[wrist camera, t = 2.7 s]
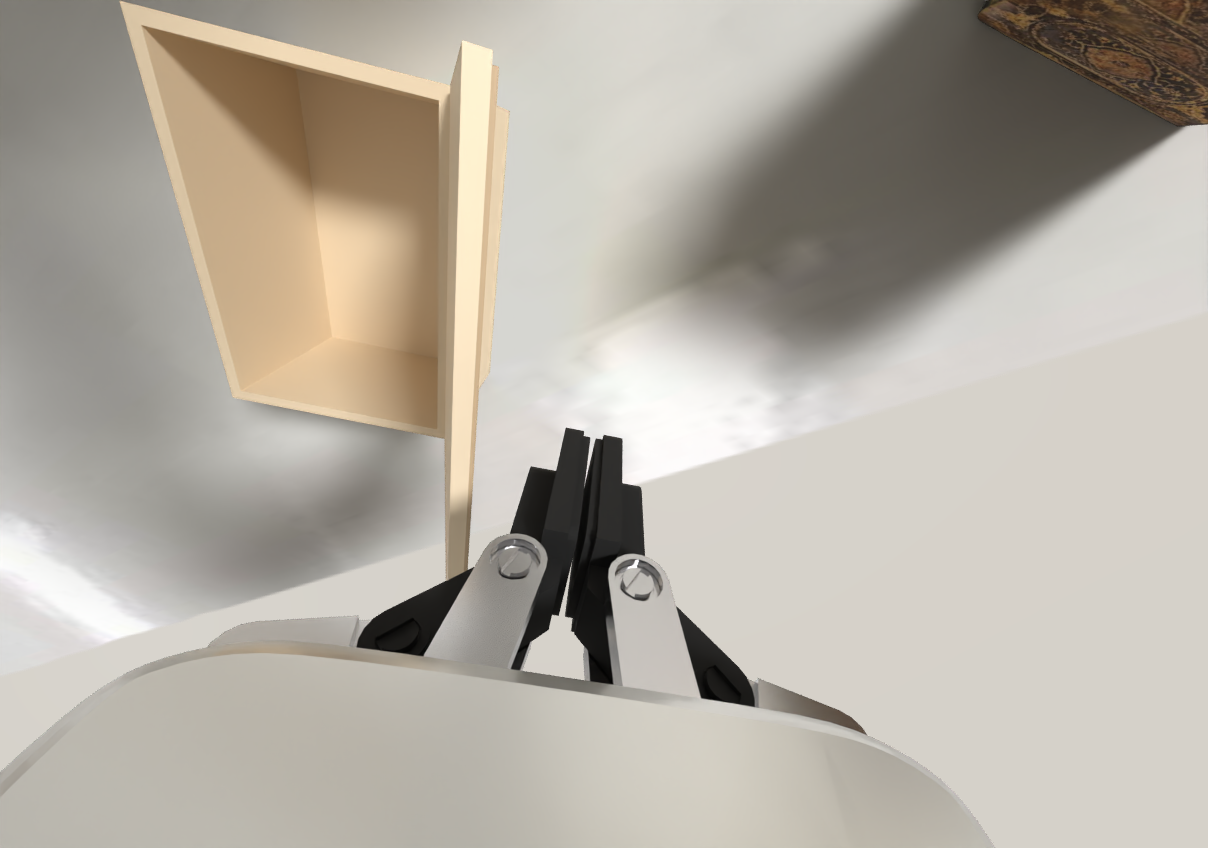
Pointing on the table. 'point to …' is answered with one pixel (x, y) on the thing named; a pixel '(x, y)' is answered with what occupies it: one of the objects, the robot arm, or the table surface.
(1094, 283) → the table surface
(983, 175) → the table surface
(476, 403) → the lid
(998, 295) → the table surface
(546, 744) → the robot arm
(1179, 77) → the book
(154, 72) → the carton
